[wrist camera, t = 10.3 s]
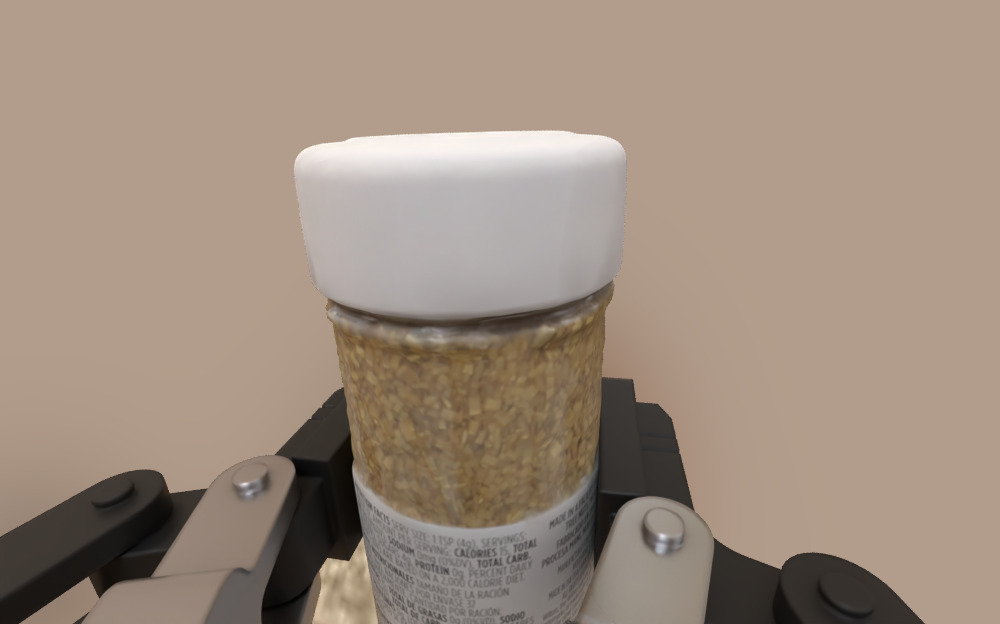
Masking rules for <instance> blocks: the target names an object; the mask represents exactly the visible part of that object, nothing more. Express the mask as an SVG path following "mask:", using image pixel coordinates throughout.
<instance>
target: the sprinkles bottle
mask: <svg viewBox="0 0 1000 624" xmlns="http://www.w3.org/2000/svg"><path fill="white" fill-rule="evenodd" d="M626 172H627V160H626V155H625V151H624V149H623V147H622V146H621V145H620V143H618V142H617V141H616V140H614V139H612V138H609V137H605V136H601V135H585V134H575V133H572V132H569V131H500V132H467V133H434V134H404V135H387V136H371V137H370V136H369V137H357V138H351V139H348V140H346V141H344V142H335V143H325V144H319V145H314V146H311V147H309V148H306V149H305V150H303V151H302V152H301V153H300V154H299V155H298V156H297V158H296V161H295V166H294V177H295V184H296V192H297V199H298V206H299V213H300V219H301V225H302V231H303V237H304V242H305V249H306V255H307V261H308V266H309V272H310V277H311V280H312V284H313V285H314V286H315V287H316V289H317V290H318V291H320V292H321V293H322V294H323V295H324V296H325V297H327V298H328V303H327V305H326V310H327V311H328V312H327V317H328V319H329V320H330V321H331V322H332V323H333V327H334V334H335V340H336V344H337V353H338V356H339V365H340V370H341V375H342V383H343V385H344V394H345V397H346V401H347V414H348V419H349V424H350V431H351V443H352V452H353V456H354V461H353V465H352V466H353V479H354V485H355V491H356V497H357V503H358V509H359V515H360V520H361V526H362V532H363V538H364V544H365V551H366V556H367V561H368V567H369V572H370V578H371V584H372V590H373V595H374V601H375V607H376V612H377V618H378V624H563V623H564V622H565V621H566V620H571V621H574V620H575V618H576V616H577V614H578V612H579V610H580V607H581V604H582V602H583V599H584V597H585V594H586V591H587V589H588V586H589V584H590V581H591V579H592V576H593V572H594V536H595V520H596V503H597V486H598V469H599V425H600V411H601V398H602V395H601V380H602V362H603V348H604V342H605V310H606V307H607V306H608V304H609V303H610V301H611V299H612V296H613V291H614V283H613V279H614V278H615V277H616V276H617V274H618V272H619V271H620V267H621V264H622V255H623V254H622V253H623V238H624V223H625V206H626Z"/></svg>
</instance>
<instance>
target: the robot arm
mask: <svg viewBox="0 0 1000 624" xmlns="http://www.w3.org/2000/svg"><path fill="white" fill-rule="evenodd" d="M601 395H602V398H601V411H600V425H599V469H598V486H597V503H596V520H595V536H594V573H593V576H592V579H591V581H590V584H589V586H588V589H587V591H586V594H585V597H584V599H583V602H582V604H581V607H580V610H579V612H578V614H577V616H576V618H575V620H574V621H571V620H566V621H565V622H564V623H563V624H925V623H923V621H922V620H921V619H920V618H919V617H918V616H917V615H916V614H915V613H914V612H913V611H912V610H911V609H910V608H909V607H908V606H907V605H906V604H905V603H904V602H903V600H901V598H900V597H899V596H898V595H897V594H896V593H895V592H894V591H893V590H892V589H891V588H890V587H888V586H887V585H886V584H885V583H884V582H882V581H881V580H880V579H879V578H877V577H876V576H875V575H873V574H871V573H870V572H869V571H867V570H865V569H863V568H862V567H859V566H858V565H856V564H854V563H852V562H849V561H847V560H845V559H842V558H839V557H836V556H832V555H828V554H823V553H802V554H797V555H795V556H793V557H791V558H789V559H788V560H787V561H786V562H785V563H784V565H783V566H782V569H781V570H780V569H778V568H775V567H772V566H770V565H767V564H765V563H762V562H759V561H757V560H754V559H751V558H748V557H746V556H744V555H741V554H739V553H737V552H735V551H733V550H731V549H729V548H728V547H726V546H724V545H723V544H722V543H720V542H719V541H717V540H716V539H715V538H714V537H713V535H712V533H711V530H710V528H709V527H708V525H707V524H706V522H705V521H704V520H703V519H702V518H701V517H700V516H699V515H698V514H697V513H696V512H695V511H694V508H693V504H692V499H691V495H690V491H689V487H688V483H687V479H686V475H685V471H684V467H683V463H682V459H681V455H680V454H679V447H678V443H677V439H676V435H675V431H674V427H673V422H672V419H671V418H670V417H669V416H668V414H667V413H666V412H665V411H664V410H663V409H662V408H661V407H660V406H659V405H658V404H652V403H639V402H636V398H635V391H634V383H633V380H632V379H621V378H607V377H602V380H601ZM353 461H354V456H353V452H352V443H351V431H350V424H349V419H348V414H347V401H346V397H345V394H344V387H343V388H341V389H339V390H337V391H336V392H334V393H333V395H332V396H331V397H330V398H329V399H328V400H327V401H326V402H325V403H324V404H323V405H322V408H319V409H318V410H317V411H316V412H315V413H314V414H313V415H312V418H311V419H309V420H308V421H307V422H306V423H305V424H304V425H303V426H302V427H301V428H300V429H299V430H298V431H297V432H296V433H295V434H294V435H293V436H292V437H291V438H290V439H289V440H288V441H287V443H286V444H285V445H284V446H283V447H282V448H281V449H280V450H279V451H278V452H277V453H276V454H275V455H265V456H258V457H254V458H251V459H248V460H245V461H242V462H240V463H238V464H236V465H234V466H232V467H230V468H228V469H227V470H225V471H224V472H223V473H221V474H220V475H219V476H218V477H217V478H216V479H215V480H214V481H213V482H212V483H211V485H210V486H209V488H208V489H200V490H193V491H185V492H178V493H169V490H168V487H167V485H166V482H165V479H164V477H163V475H162V474H161V473H159V472H157V471H154V470H135V471H129V472H125V473H122V474H118V475H116V476H113V477H110V478H108V479H105V480H103V481H101V482H99V483H97V484H95V485H93V486H91V487H90V488H88V489H86V490H84V491H82V492H80V493H79V494H77V495H75V496H73V497H71V498H70V499H68V500H66V501H64V502H62V503H61V504H59V505H57V506H55V507H53V508H52V509H50V510H48V511H46V512H44V513H42V514H41V515H39V516H37V517H35V518H33V519H32V520H30V521H28V522H26V523H24V524H23V525H21V526H19V527H17V528H15V529H14V530H12V531H10V532H8V533H6V534H4V535H3V536H1V537H0V624H19V623H21V622H22V621H23V620H25V619H26V618H28V617H29V616H31V615H32V614H34V613H35V612H37V611H38V610H40V609H41V608H42V607H44V606H46V605H47V604H48V603H50V602H51V601H53V600H54V599H56V598H57V597H59V596H60V595H62V594H63V593H64V592H66V591H67V590H69V589H70V588H72V587H73V586H75V585H76V584H78V583H79V582H81V581H82V580H84V579H85V578H87V577H88V576H89V578H90V580H91V582H92V584H93V586H94V589H95V591H96V593H97V595H98V597H99V600H98V601H97V603H96V604H95V605H94V607H93V608H92V610H91V611H90V612H88V613H87V614H86V615H84V616H83V617H82V618H80V619H79V620H77V621H76V622H75V623H73V624H312V620H313V617H314V613H315V609H316V605H317V601H318V598H319V594H320V590H321V577H320V573H319V570H320V568H321V567H322V565H323V564H324V562H325V560H326V559H327V558H333V559H339V560H346V561H349V560H350V558H351V557H352V555H353V553H354V551H355V549H356V548H357V546H358V544H359V542H360V541H361V539H362V537H363V532H362V526H361V520H360V515H359V509H358V503H357V497H356V491H355V485H354V479H353V466H352V465H353Z"/></svg>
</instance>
